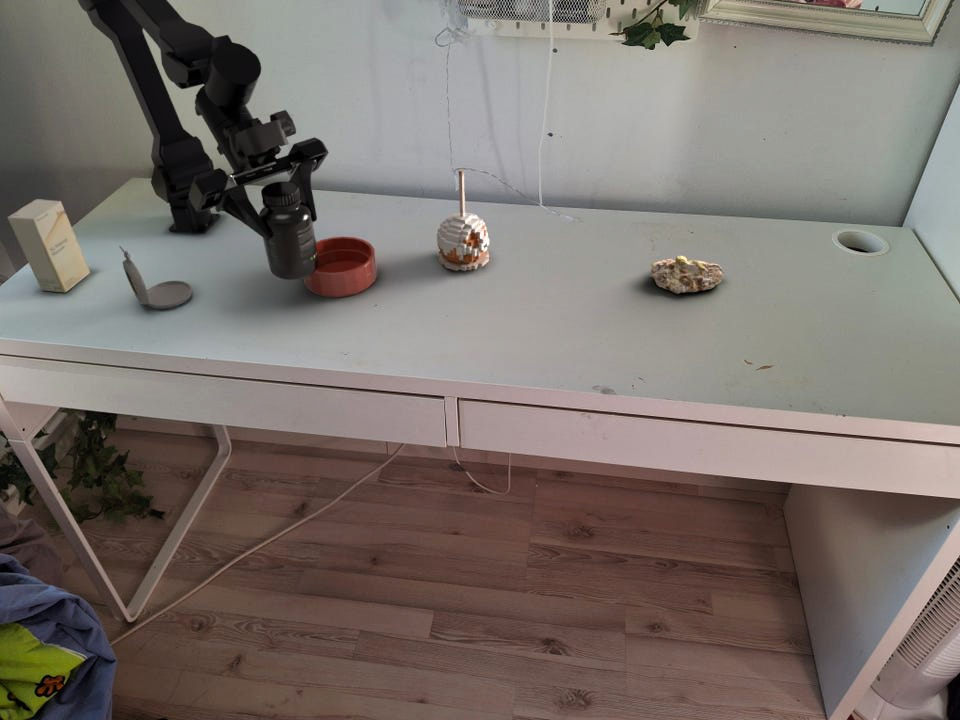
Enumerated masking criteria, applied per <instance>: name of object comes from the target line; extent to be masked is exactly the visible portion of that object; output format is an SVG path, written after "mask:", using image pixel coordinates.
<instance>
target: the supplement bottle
mask: <svg viewBox="0 0 960 720" xmlns="http://www.w3.org/2000/svg"><path fill="white" fill-rule="evenodd" d="M260 193H261V200H262V205H263V207H262V208H261V209H260V211H259V213H258V214H259V216H260V217H261V219H262V221H263V222H264V224H265V225H266V227H267V229H268V231H269V233H270V235H271V238H270V240H266V239H264V238H263V237H262V240H263V241H262V242H263V246H264V249H265V255H266V258H267V263H268V268H269V270H270V272H271V274H272V275H273V276H274V277H276V278H278V279H281V280H286V281H287V280H288V281H295V280H300V279H303V278H305V277H307V276H309V275H311V274H313V273H314V272H315V271H316V270H317V268H318V266H319V258H318V251H317V246H316V242H317V240H316V235H315V228H314V222H312V216H311V212H310V209H309V208H308V206H307V205H306V204H304V203H303V202H301V196H300V192H299V187H298V185H296V184H294V183H292V182H289V181H285V180H284V181H275V182H272V183H268V184H267V185H264V186H263V187H262V188H261V190H260Z"/></svg>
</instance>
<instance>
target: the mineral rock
mask: <svg viewBox="0 0 960 720" xmlns="http://www.w3.org/2000/svg"><path fill="white" fill-rule="evenodd" d="M650 268H651V274H650V275H651V278H653V280H654V281H655V284H656V286H658V287H659V288H662V289H664V290H667V291H670V292H672V293H674V294H676V295H677V294H678V295H679V294H682V293H695V292H699V291H706V290H711V289H713V288H715V287H716V285H719V284H721V281H722V280H723V277H724V276H723V275H724V274H725V273H724V271H723V268H722V267H721V265H719V264H718V263H717V264H716V263H713V262H710V263H709V262H706V261H703V260H692V259H690V260H688V258H687V257H686V256H684V255H682V254H681V255H677V256H676V258H675V260H674V259H673V258H665V259H662V260H660V261H656V262H651V264H650Z"/></svg>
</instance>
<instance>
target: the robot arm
mask: <svg viewBox="0 0 960 720" xmlns="http://www.w3.org/2000/svg"><path fill="white" fill-rule="evenodd" d="M77 3H78V4H79V6H80V8H81V9H82V10H83V11H84V12H86V14H87V16H88V18H89V20H90V22H91V24H92V26H93V27H95V28H96V29H97V30H98V31H100V33H101V34H103V35H104V36H105V37H106V38H108V39H109V40H110V41H111V43H112V45H113V47H114V50H115V52H116V53H117V56H118V58H119V60H120V62H121V65H122V67H123V70H124V72H125V74H126V77H127V79H128V81H129V84H130V86H131V88H132V91H133V93H134V95H135V98H136V100H137V102H138V104H139V107H140V109H141V111H142V114H143V116H144V119H145V121H146V123H147V125H148V127H149V130H150V132H151V134H152V138H153V140H152V147H151V152H150V153H151V154H150V159H151V161H152V164H153V171H152V174H151V175H152V176H151V179H150V184H151V187H152V189H153V191H154V194H155V196H156V197H159V198H160V199H161V200H163V201H164V202H165V203H167V204H169V207H170V213H171V217H172V219H173V223H172V224H171V225H170V226H169V227H168V231H169V232H171V233H188V234H197V235H204V234H206V233H207V232H208V231H209V230H210V228H212V227H213V226H214V225H215V223H216V222H217V221H219V219H220V218H221V215H220V212H225V213H226V214H228V215H230V216H231V217H233V218H234V219H236V220H238V221H240V222H241V223H243V224H244V225H246V226H247V227H248V228H250V229H251V230H252V231H254V232H255V233H256V234H258V235H259V236H260V237H262V239H263V238H264V239H266V240H270V238H271V235H270V233H269V231H268V229H267V227H266V225H265V224H264V222H263V221H262V219H261V217H260V216H259V213H258V211H257V210H256V208H255V206H254V205H253V204H252V202H251V200H250V199H249V196H248V193H247V191H246V187H245V186H248V185H252V184H254V183H257V182H260V181H264V180H266V179H268V178H272V177H275V176H277V175H280V174H283V173H287V175H288V177H289V178H290V179H289V180H288V182H292V183H294V184H296V185H298V187H299V192H300V196H301V202H303V203H304V204H306V205H307V206H308V208H309V209H310V212H311V216H312V222H313V223H314V222H316V221H317V220H318V215H317V209H316V204H315V199H314V194H313V188H312V173H315V172H316V171H317V170H319V168H320V167H321V165H322V164H323V162H324V161H325V159H326V158H327V157H328V154H329V152H330V151H329V149H328V148H327V146H326V145H325V143H324V142H323V141H322V140H321V139H319V138H317V137H315V136H314V137H310V138H307V139H305V140H302V141H298V142H295V143H293V144H292V146H291V148H290V149H289V152H288V154H287V155H284V156H281V157H278V158H277V157H276V156H277V155H280V153H281V151H282V148H281V147H283V146H287V145H289V141H288V138H289V137H291V136H294V135H296V133H297V128H296V125H295V123H294V120H293V118H292V117H291V115H290V114H289V113H288V111H287V109H283V110H280V111H277V112H274V113H272V114H270V115H269V120H270V121H268V122H265V123H263V122H262V120H261V119H259V117H255V118H254V117H253V115H252V114H251V112H250V110H249V108H248V107H247V105H248V103H250V100H251V99H252V96H253V93H254V92H255V89H256V87H257V84H258V81H259V79H260V76H261V74H262V63H261V61H260V58H259V57H258V55H257V54H256V53H254V51H252V50H251V49H249V48H248V47H247V46H245V45H243V44H241V43H237V42H234V41H232V39H231V37H230V36H229V34H224V35H220V36H214V35H213V34H212V33H210V32H209V31H208V30H207V29H206V28H204V27H203V26H201V25H199V24H195V23H192V22H189V21H187V20H185V19H184V18H183V17H182V15H180V14H179V12H178V11H177V10H176V9H175V8H174V7H173V5H172V4H171V3H170V2H169V1H168V0H77ZM144 31H145V32H146V33H147V35H148V36H149V37H150V38H151V40H152V41H153V42H154V43H155V44H156V45H157V47H158V48H159V50H160V60H161V61H160V62H161V66H162V68H163V71H164V73H165V75H166V77H167V78H168V80H169V81H170V82H172V83H174V85H175V86H176V87H177V88H179V89H181V90H186V89H190V88H194V87H198V86H201V87H200V88H199V89H198V91H197V93H196V94H195V99H194V105H195V106H194V110H195V114H196V116H198V117H200V116H201V117H202V119H203V121H204V122H205V124H206V126H207V127H208V128H207V129H209V131H210V133H211V134H212V136H213V138H214V140H215V141H216V144H217V147H216V150H217V152H218V154H219V155H220V156H222V155H224V157H225V159H226V161H227V162H228V164H229V166H230V167H231V169H232V171H233V172H232V173H230V174H227V173H226V170H224V169H222V168H221V167H218V168H214V167H215V166H214V162H213V159H212V158H210V156H209V154H208V153H207V152H206V150H205V148H204V145H203V143H202V141H201V139H200V138H199V137H198V136H197V135H196V136H193V135H192V133H191V134H190V133H189V131H187V130H186V129H185V128H184V127H183V125H182V122H181V120H180V117H179V115H178V112H177V111H176V108H175V105H174V104H173V101H172V98H171V95H170V94H169V91H168V89H167V86H166V84H165V82H164V79H163V77H162V74H161V72H160V70H159V69H160V68H159V67H158V65H157V63H156V60H155V58H154V55H153V53H152V50H151V47H150V45H149V43H148V41H147V38H146V36H145V33H144ZM213 208H214V210H215V211H216V213H213V212H212V210H211V209H213Z"/></svg>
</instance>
